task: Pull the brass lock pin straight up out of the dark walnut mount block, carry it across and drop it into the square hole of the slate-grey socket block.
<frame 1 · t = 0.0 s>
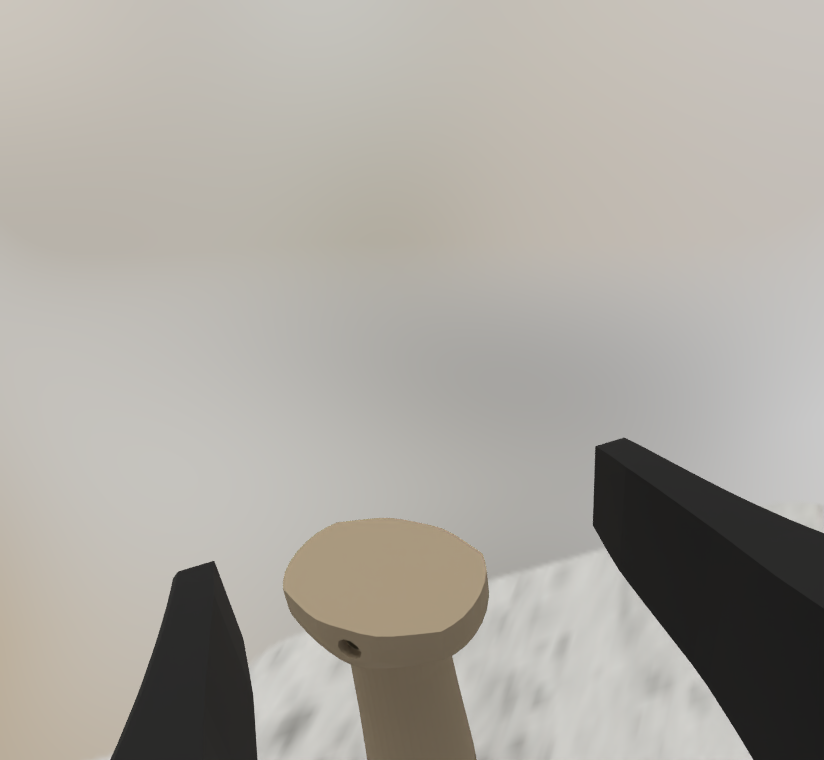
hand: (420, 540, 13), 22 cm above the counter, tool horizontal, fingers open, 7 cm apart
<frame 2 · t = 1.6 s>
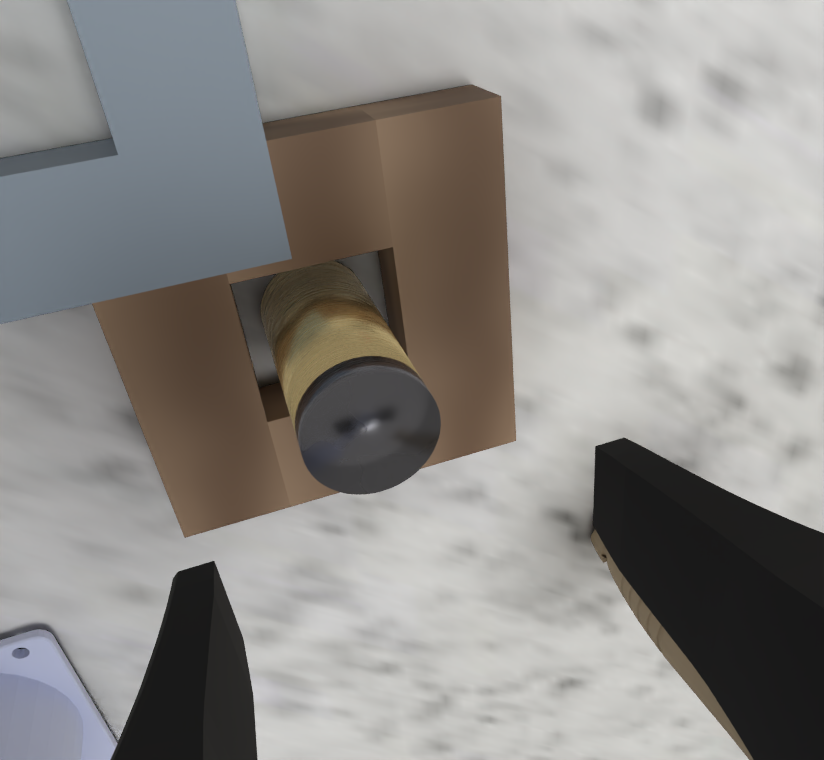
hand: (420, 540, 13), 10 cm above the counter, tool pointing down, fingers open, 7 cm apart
handle: (617, 515, 31), on the counter
pin: (339, 362, 19), in the mount block
mount block: (314, 308, 22), on the counter
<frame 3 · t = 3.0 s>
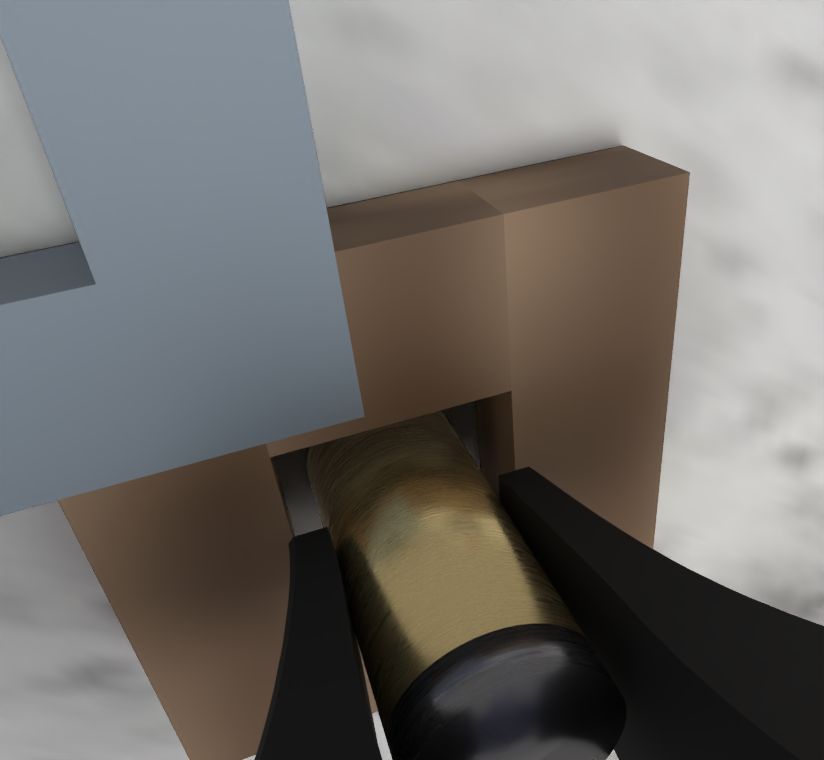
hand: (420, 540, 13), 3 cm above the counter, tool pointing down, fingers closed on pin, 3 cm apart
pin: (434, 570, 12), in the mount block, touching gripper
mount block: (381, 455, 15), on the counter
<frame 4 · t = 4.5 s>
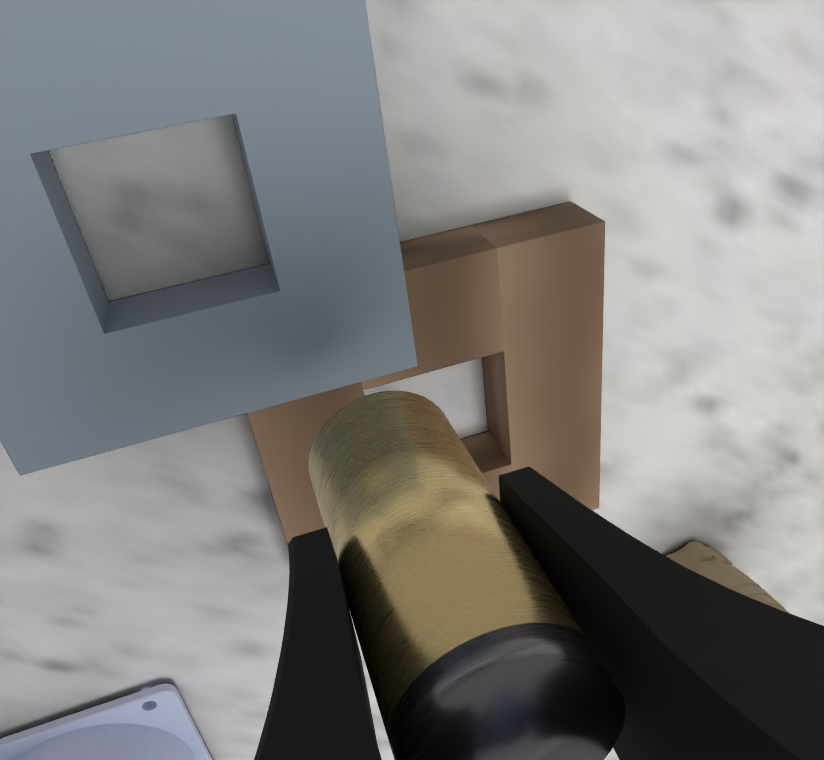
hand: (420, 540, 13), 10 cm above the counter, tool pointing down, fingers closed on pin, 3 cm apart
socket block: (165, 204, 18), on the counter
handle: (678, 561, 33), on the counter
pin: (435, 570, 12), point 11 cm above the counter, touching gripper
mount block: (422, 397, 24), on the counter
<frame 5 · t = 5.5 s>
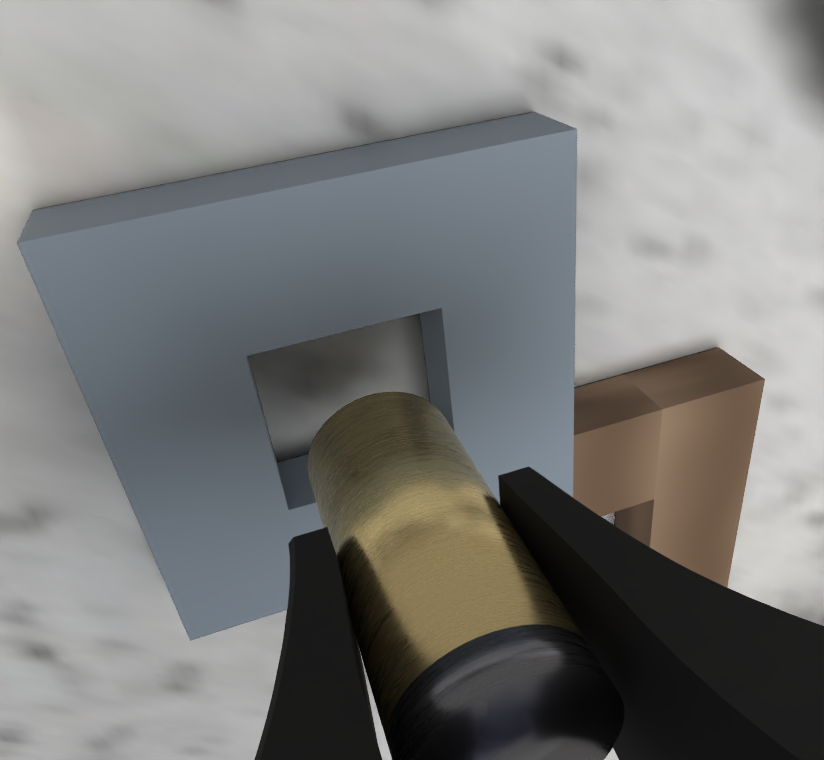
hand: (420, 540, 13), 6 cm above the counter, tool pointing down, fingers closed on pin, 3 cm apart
socket block: (343, 372, 18), on the counter
pin: (433, 571, 12), point 7 cm above the counter, touching gripper
mount block: (556, 529, 24), on the counter
when the fingers open (4 cm above the counter, at t = 6.3 s): pin stays where it is, resting in socket block.
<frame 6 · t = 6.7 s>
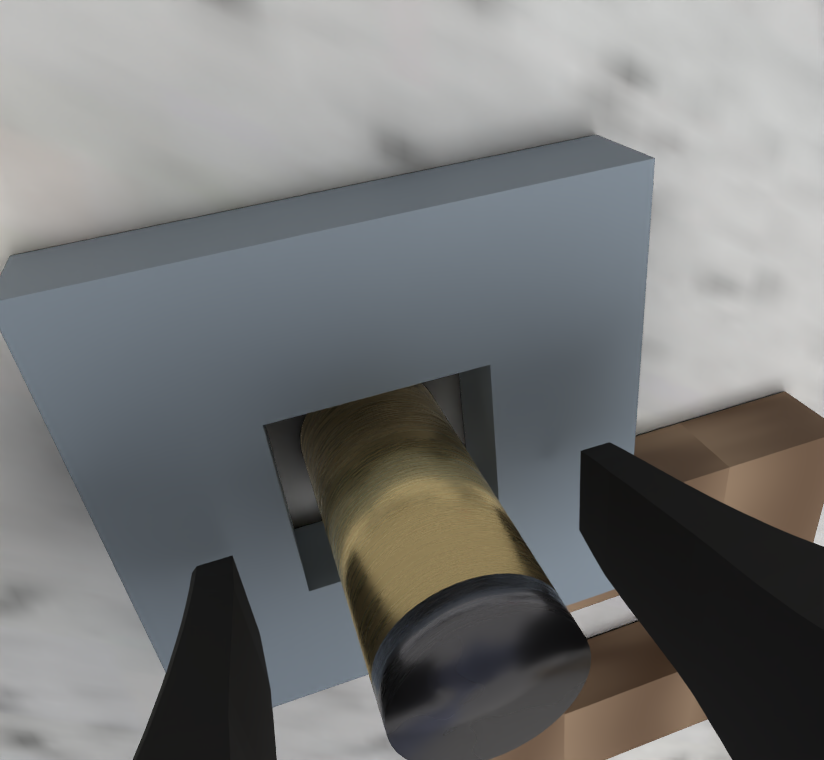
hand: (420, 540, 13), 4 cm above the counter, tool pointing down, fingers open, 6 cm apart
socket block: (370, 429, 16), on the counter
pin: (418, 535, 13), in the socket block
mount block: (599, 588, 21), on the counter
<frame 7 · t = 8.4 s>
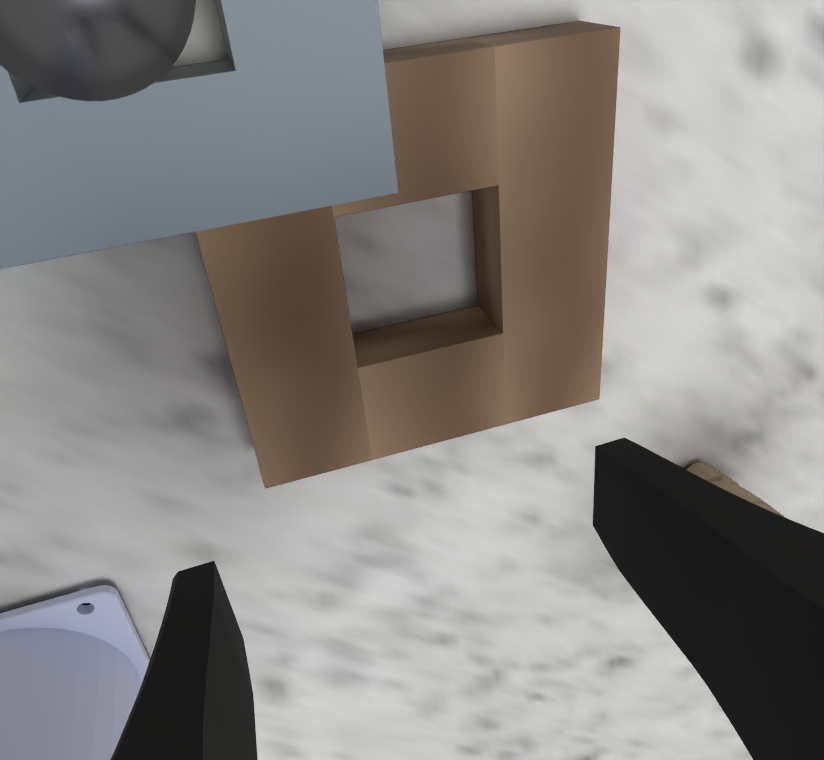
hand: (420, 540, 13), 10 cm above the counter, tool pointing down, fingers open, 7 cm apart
handle: (681, 486, 30), on the counter
mount block: (404, 254, 21), on the counter
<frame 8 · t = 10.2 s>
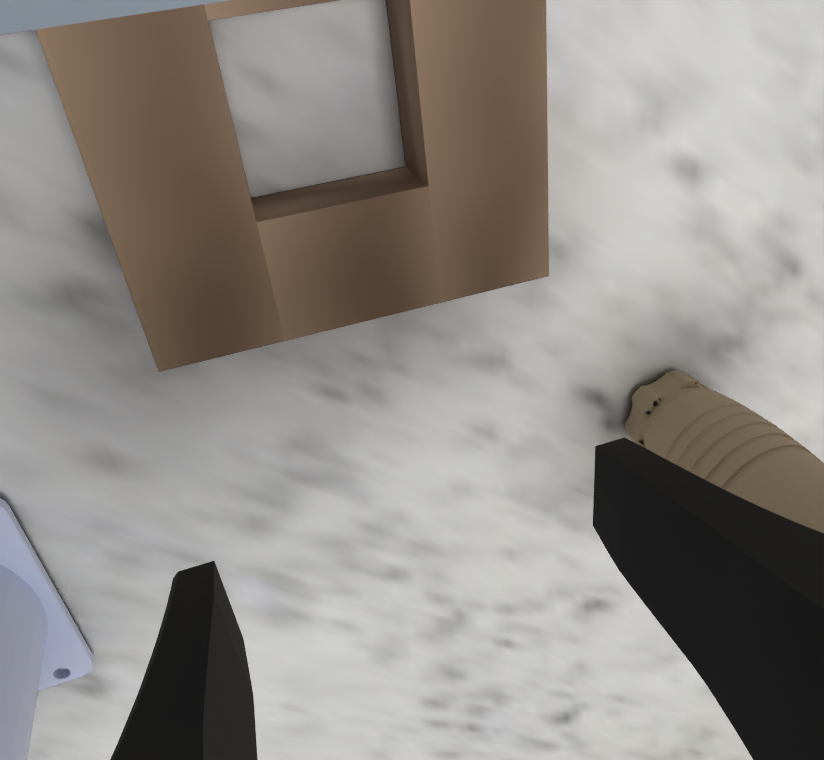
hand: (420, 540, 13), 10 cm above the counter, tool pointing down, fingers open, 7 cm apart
handle: (654, 401, 27), on the counter
mount block: (313, 97, 18), on the counter
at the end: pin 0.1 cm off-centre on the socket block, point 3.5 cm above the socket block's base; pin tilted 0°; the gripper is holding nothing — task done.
